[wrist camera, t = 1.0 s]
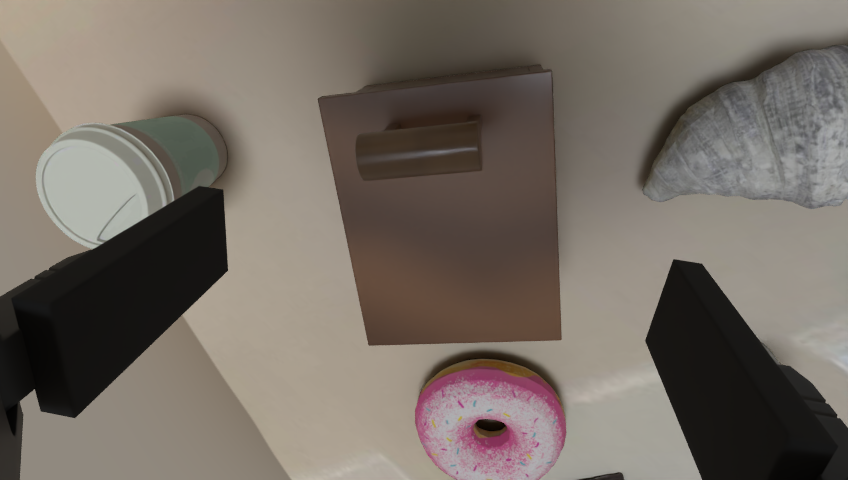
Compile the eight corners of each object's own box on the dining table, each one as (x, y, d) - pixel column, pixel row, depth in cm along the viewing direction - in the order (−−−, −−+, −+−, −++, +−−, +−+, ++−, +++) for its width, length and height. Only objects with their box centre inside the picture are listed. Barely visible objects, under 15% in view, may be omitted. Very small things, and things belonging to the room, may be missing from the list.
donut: (569, 457, 51) (575, 501, 47) (435, 462, 54) (429, 503, 50) (555, 342, 46) (560, 378, 42) (408, 353, 49) (398, 389, 44)
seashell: (626, 181, 40) (661, 234, 31) (735, -26, 33) (821, -37, 24) (826, 254, 40) (920, 328, 31) (973, 60, 33) (1146, 82, 24)
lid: (321, 96, 30) (268, 123, 23) (551, 68, 28) (565, 90, 21) (371, 339, 37) (340, 415, 30) (560, 333, 34) (573, 414, 28)
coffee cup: (167, 203, 46) (63, 265, 35) (130, 105, 43) (2, 140, 32) (257, 192, 44) (176, 253, 34) (224, 88, 41) (123, 119, 30)
